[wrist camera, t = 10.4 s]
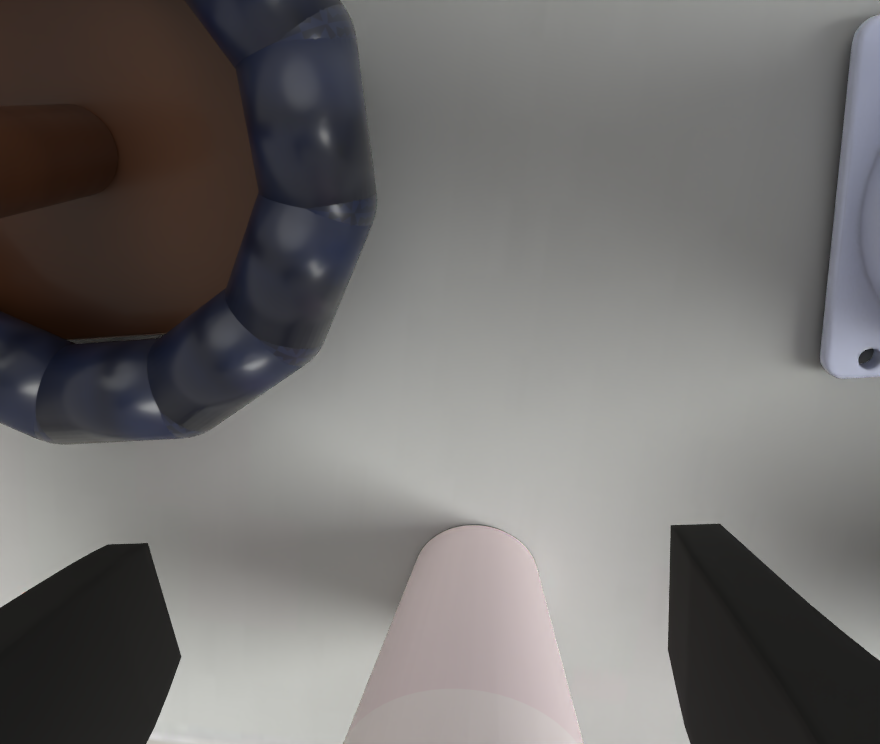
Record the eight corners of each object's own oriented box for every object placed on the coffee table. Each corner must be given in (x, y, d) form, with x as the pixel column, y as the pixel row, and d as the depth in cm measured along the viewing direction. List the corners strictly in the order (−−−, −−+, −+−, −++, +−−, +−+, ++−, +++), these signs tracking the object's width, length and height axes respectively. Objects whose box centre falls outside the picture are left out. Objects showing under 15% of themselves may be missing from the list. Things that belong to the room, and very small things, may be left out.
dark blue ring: (327, -274, 13) (290, -350, 11) (411, 400, 18) (397, 445, 15) (-313, -163, 14) (-462, -209, 12) (-75, 428, 19) (-150, 472, 17)
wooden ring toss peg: (245, -94, 15) (61, -225, 9) (314, 310, 18) (215, 424, 12) (-134, -40, 16) (-537, -122, 10) (-5, 334, 19) (-247, 450, 13)
